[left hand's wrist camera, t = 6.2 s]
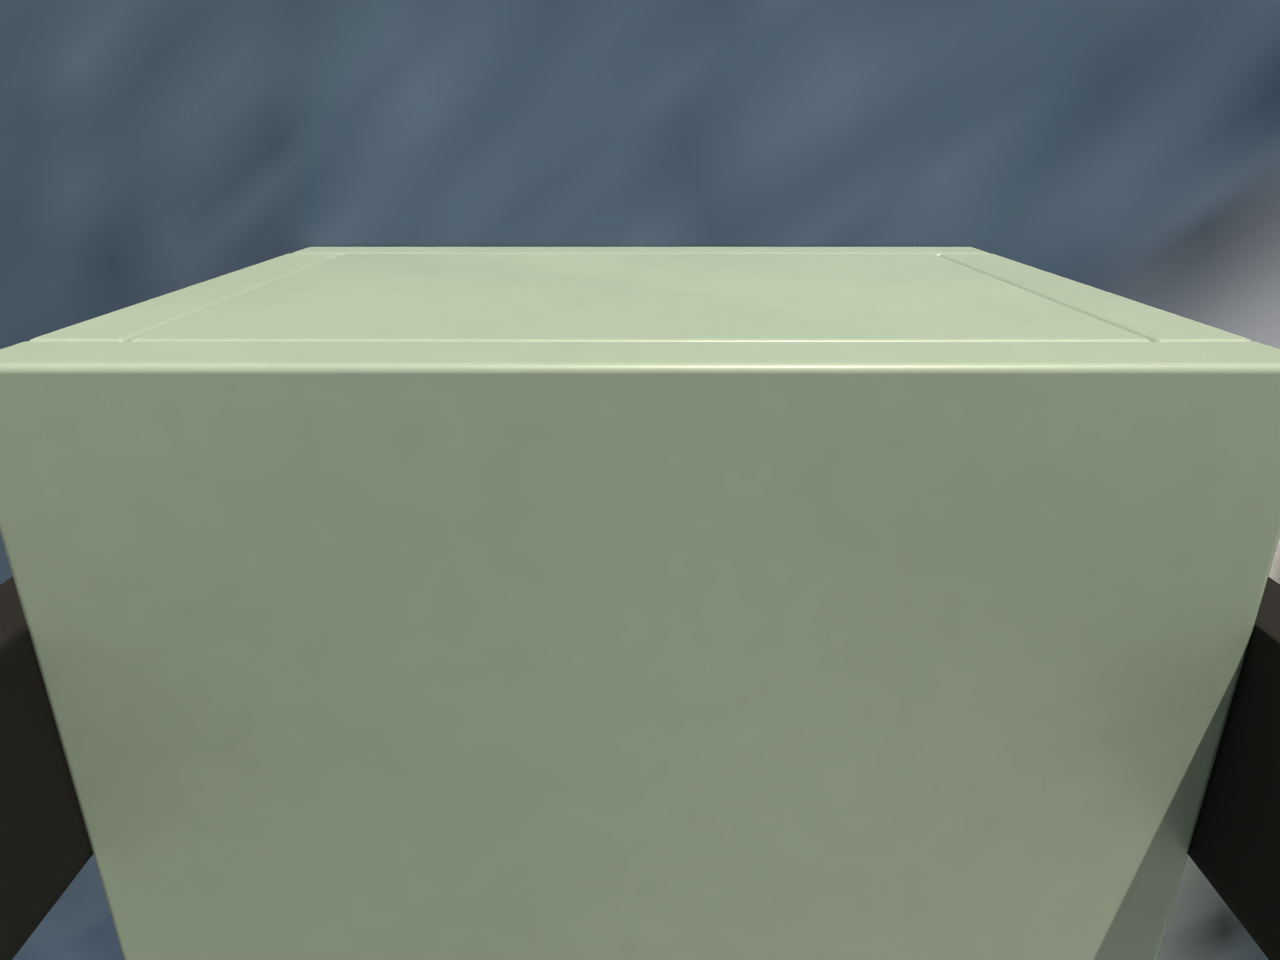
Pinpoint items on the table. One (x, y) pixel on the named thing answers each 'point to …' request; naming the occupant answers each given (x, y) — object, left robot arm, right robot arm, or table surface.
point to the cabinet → (640, 602)
